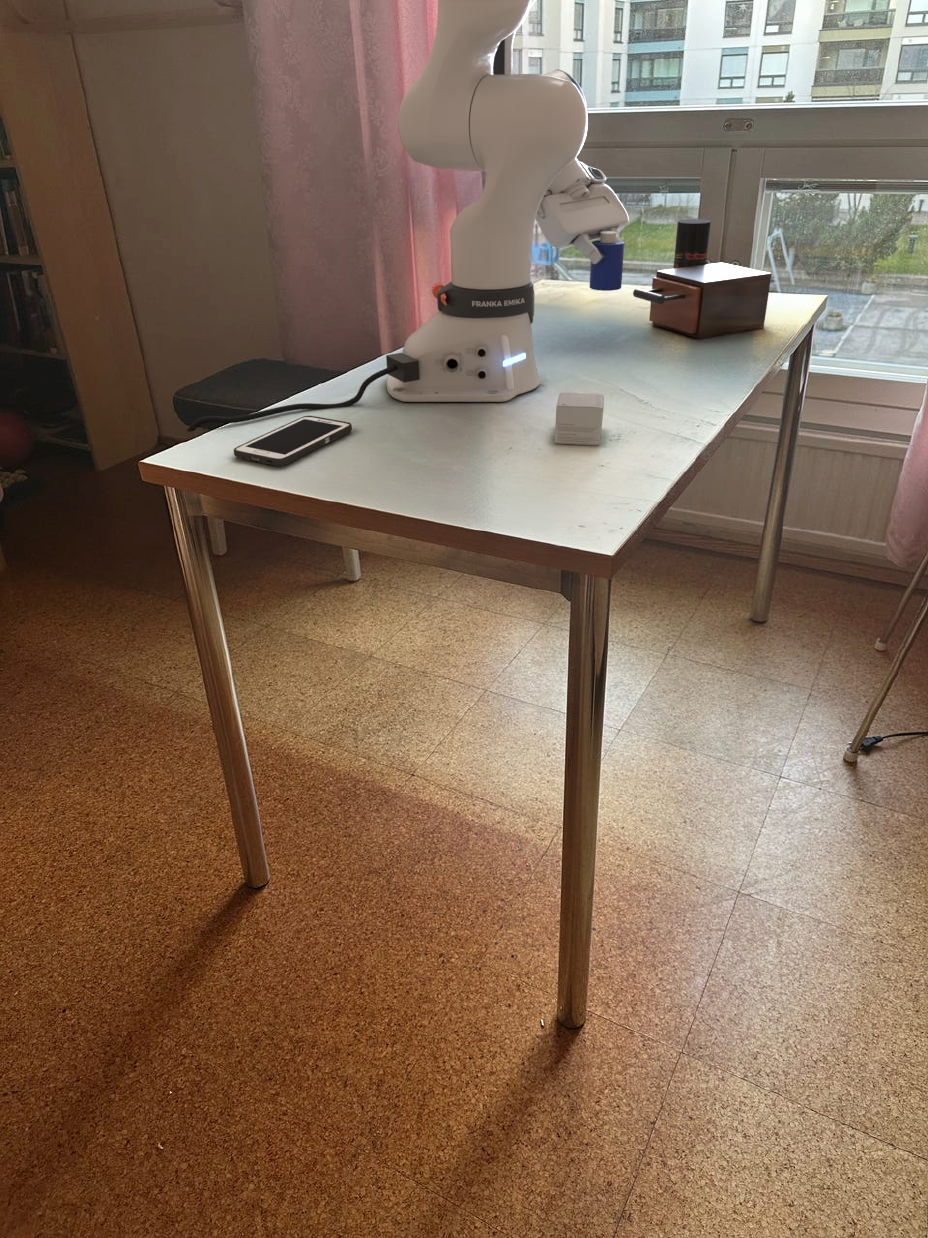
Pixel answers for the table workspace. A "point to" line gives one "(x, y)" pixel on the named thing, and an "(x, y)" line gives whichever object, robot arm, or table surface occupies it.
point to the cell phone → (292, 440)
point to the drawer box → (724, 297)
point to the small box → (579, 418)
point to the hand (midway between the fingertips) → (610, 258)
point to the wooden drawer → (673, 303)
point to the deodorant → (691, 242)
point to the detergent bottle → (608, 263)
